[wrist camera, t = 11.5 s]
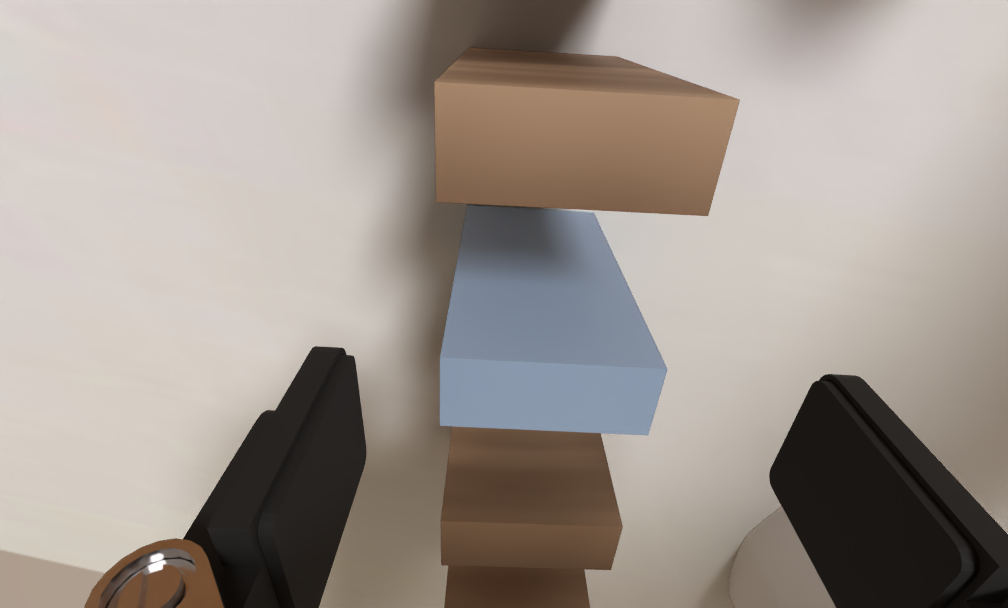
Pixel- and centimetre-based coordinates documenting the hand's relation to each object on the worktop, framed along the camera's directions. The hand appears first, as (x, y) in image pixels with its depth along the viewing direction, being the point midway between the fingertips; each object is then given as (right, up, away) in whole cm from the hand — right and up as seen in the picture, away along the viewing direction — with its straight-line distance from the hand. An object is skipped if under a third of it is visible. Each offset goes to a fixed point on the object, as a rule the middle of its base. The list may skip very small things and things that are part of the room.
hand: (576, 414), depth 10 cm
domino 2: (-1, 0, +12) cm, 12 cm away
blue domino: (-1, +5, +10) cm, 11 cm away
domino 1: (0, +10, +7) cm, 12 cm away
